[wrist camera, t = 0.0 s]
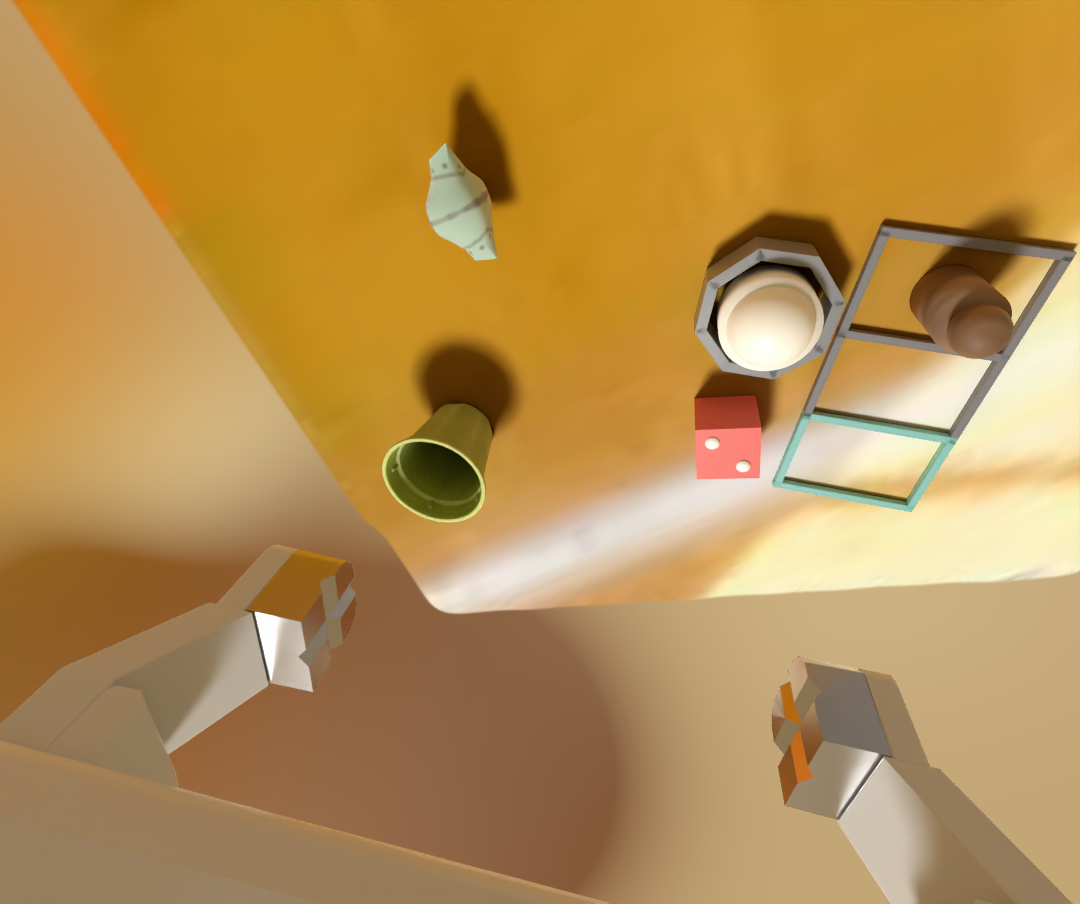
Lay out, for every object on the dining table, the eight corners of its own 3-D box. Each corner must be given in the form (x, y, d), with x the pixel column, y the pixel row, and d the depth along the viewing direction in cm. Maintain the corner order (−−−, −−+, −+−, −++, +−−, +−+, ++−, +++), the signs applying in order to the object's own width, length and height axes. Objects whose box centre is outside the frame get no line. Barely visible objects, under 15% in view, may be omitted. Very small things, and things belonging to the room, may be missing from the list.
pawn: (927, 259, 41) (970, 303, 35) (993, 269, 41) (1050, 315, 34) (898, 318, 44) (934, 368, 37) (960, 327, 43) (1007, 380, 37)
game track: (881, 224, 40) (883, 227, 40) (1072, 249, 39) (1076, 252, 38) (772, 482, 54) (773, 486, 54) (909, 507, 53) (911, 512, 53)
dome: (730, 255, 42) (736, 285, 38) (830, 269, 42) (848, 302, 37) (706, 342, 47) (708, 379, 42) (796, 357, 46) (808, 396, 41)
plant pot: (480, 480, 62) (454, 538, 55) (402, 431, 60) (366, 485, 53) (527, 424, 56) (504, 480, 49) (443, 368, 54) (408, 419, 47)
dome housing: (716, 230, 43) (718, 242, 40) (853, 249, 42) (862, 262, 39) (686, 349, 48) (686, 365, 46) (805, 368, 47) (811, 385, 45)
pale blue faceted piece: (520, 235, 46) (498, 264, 40) (475, 253, 47) (448, 283, 42) (475, 127, 42) (444, 143, 36) (427, 150, 43) (391, 169, 38)
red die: (694, 398, 51) (695, 431, 47) (755, 394, 50) (761, 428, 46) (696, 445, 54) (696, 480, 50) (753, 443, 52) (759, 478, 48)
